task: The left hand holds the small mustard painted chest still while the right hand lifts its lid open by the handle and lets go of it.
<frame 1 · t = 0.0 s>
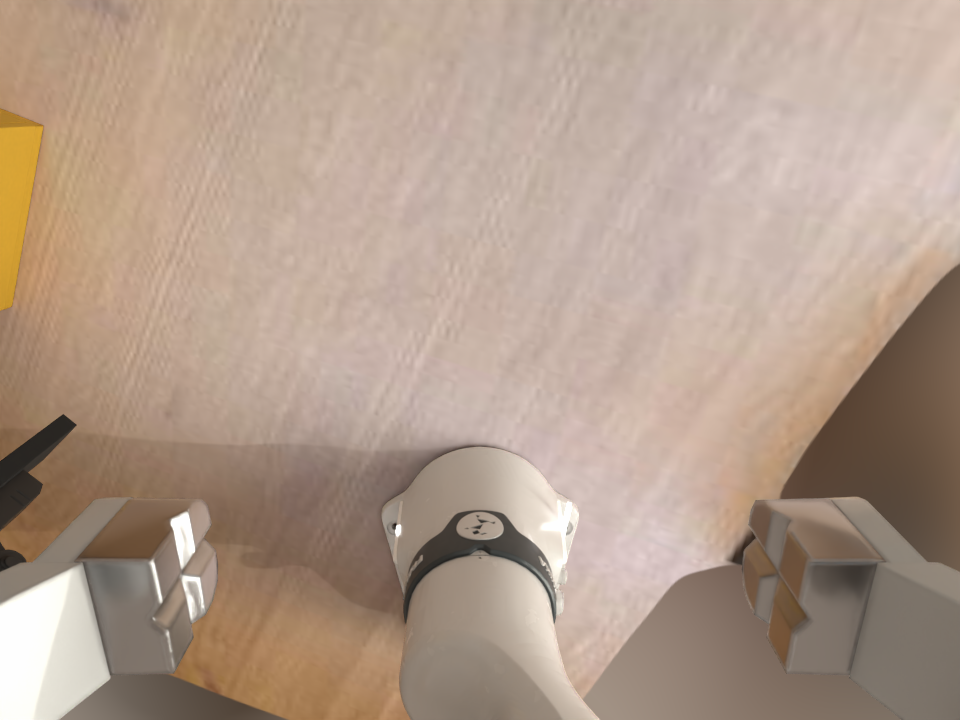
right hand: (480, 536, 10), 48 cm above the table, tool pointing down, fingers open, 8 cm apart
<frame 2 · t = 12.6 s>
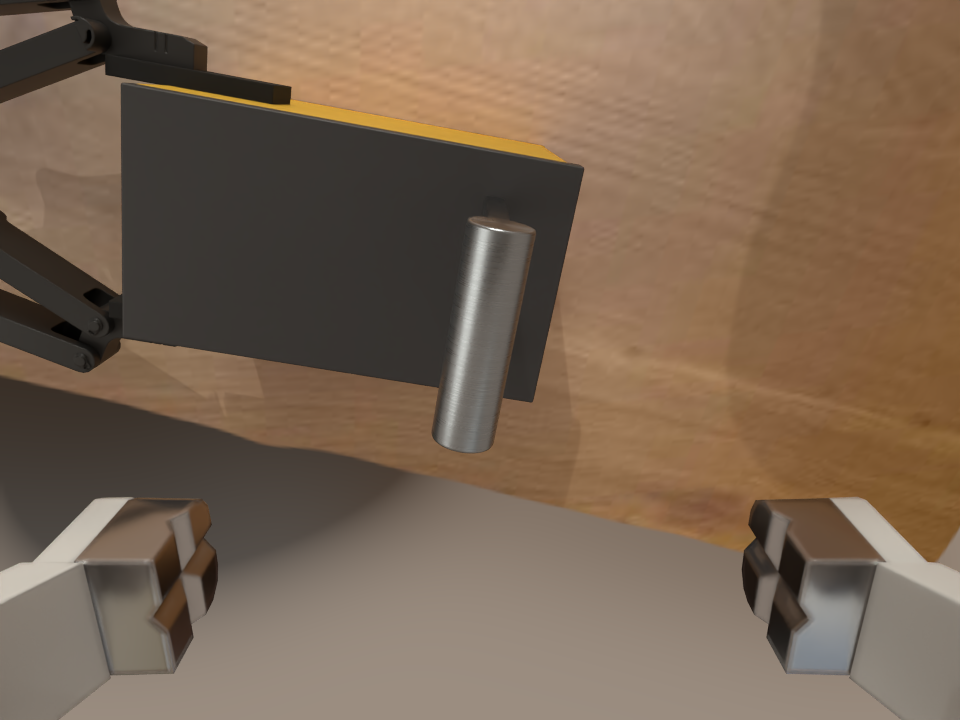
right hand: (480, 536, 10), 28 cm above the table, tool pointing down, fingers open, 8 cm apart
left hand: (273, 216, 30), fingers closed on chest, 9 cm apart
lid: (324, 278, 22), point 15 cm above the table, hinge at 0.0°
chest: (380, 209, 37), on the table, touching left hand
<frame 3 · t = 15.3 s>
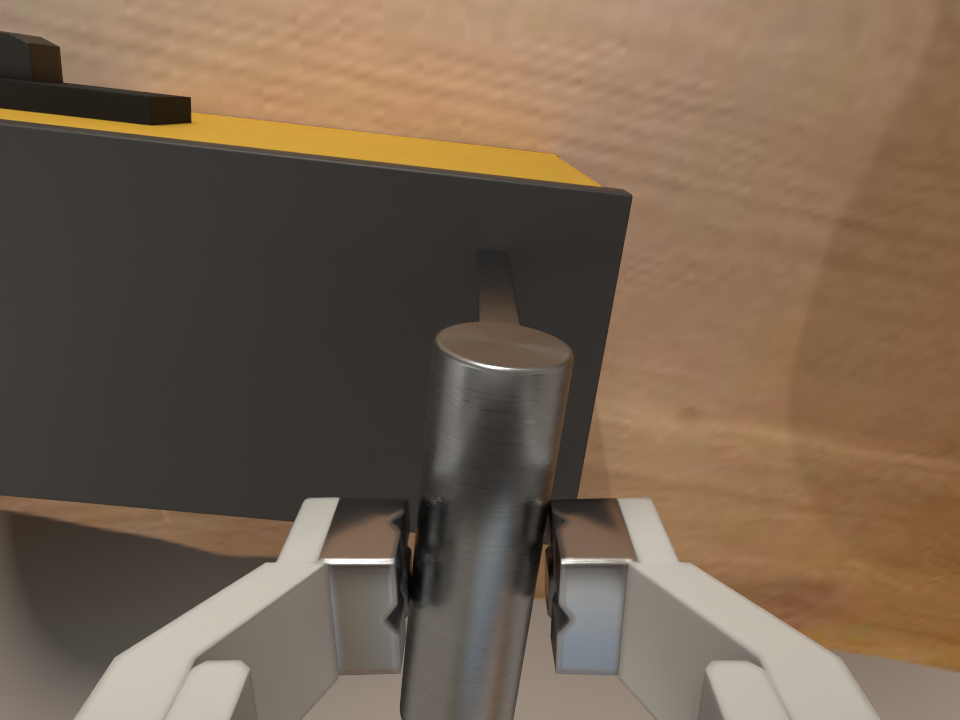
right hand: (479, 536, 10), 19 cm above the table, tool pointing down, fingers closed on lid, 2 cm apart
lid: (210, 415, 13), point 15 cm above the table, hinge at -0.1°, touching right hand
chest: (344, 252, 28), on the table, touching left hand
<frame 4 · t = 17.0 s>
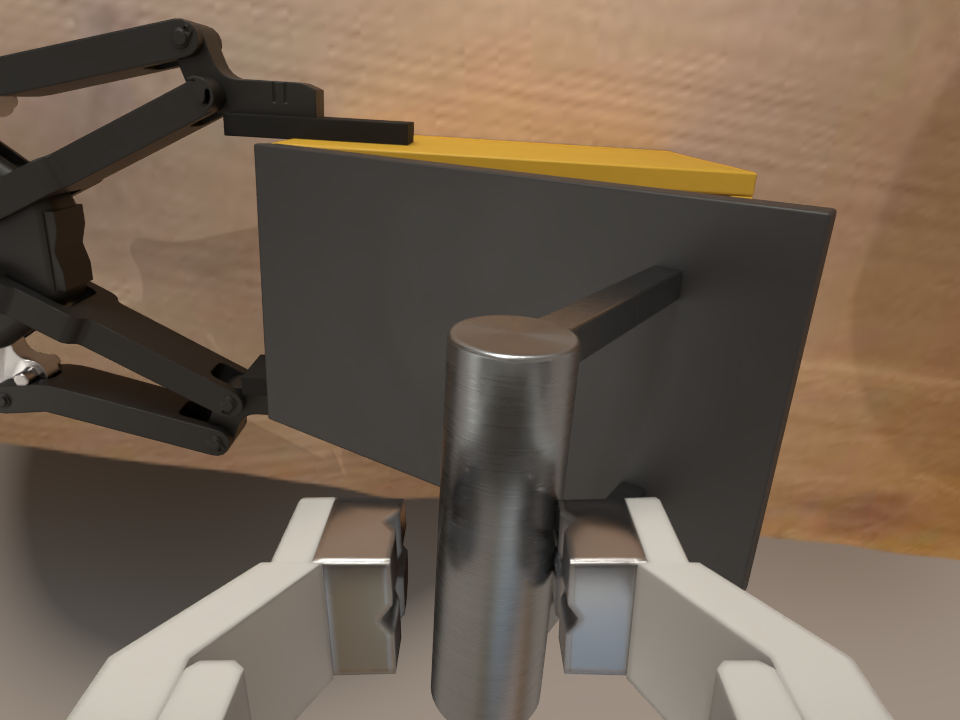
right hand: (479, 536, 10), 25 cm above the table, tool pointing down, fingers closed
left hand: (407, 265, 27), fingers closed on chest, 9 cm apart
lid: (384, 383, 16), point 19 cm above the table, hinge at 33.0°, touching right hand
chest: (496, 239, 34), on the table, touching left hand
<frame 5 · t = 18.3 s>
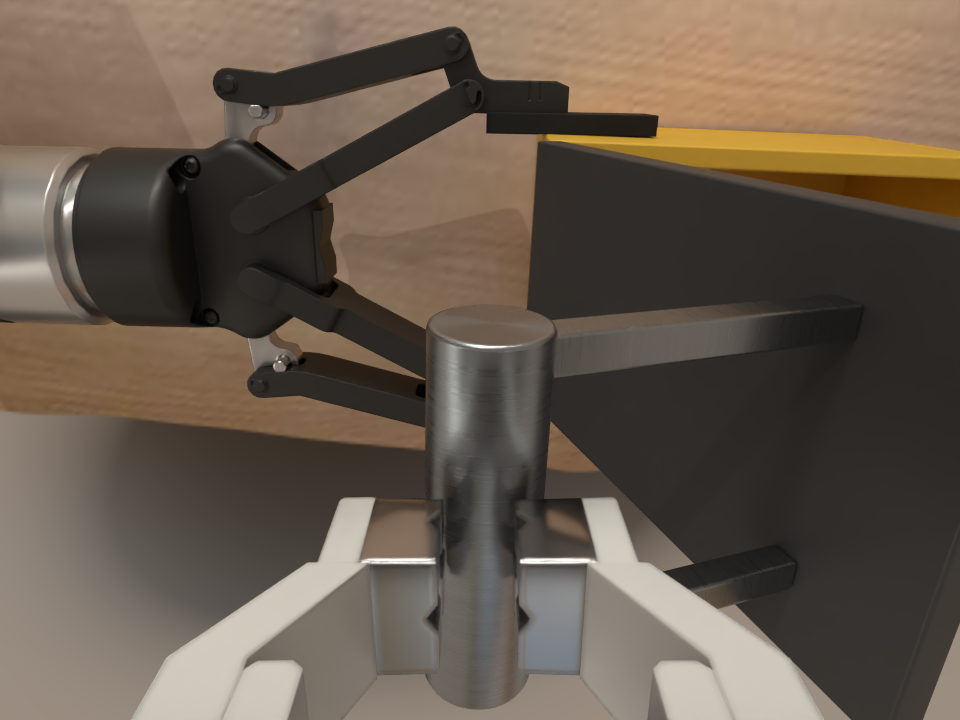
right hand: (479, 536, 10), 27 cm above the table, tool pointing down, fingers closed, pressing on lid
left hand: (637, 249, 29), fingers closed on chest, 9 cm apart
lid: (538, 370, 17), point 20 cm above the table, hinge at 66.6°, touching right hand
chest: (686, 224, 35), on the table, touching left hand
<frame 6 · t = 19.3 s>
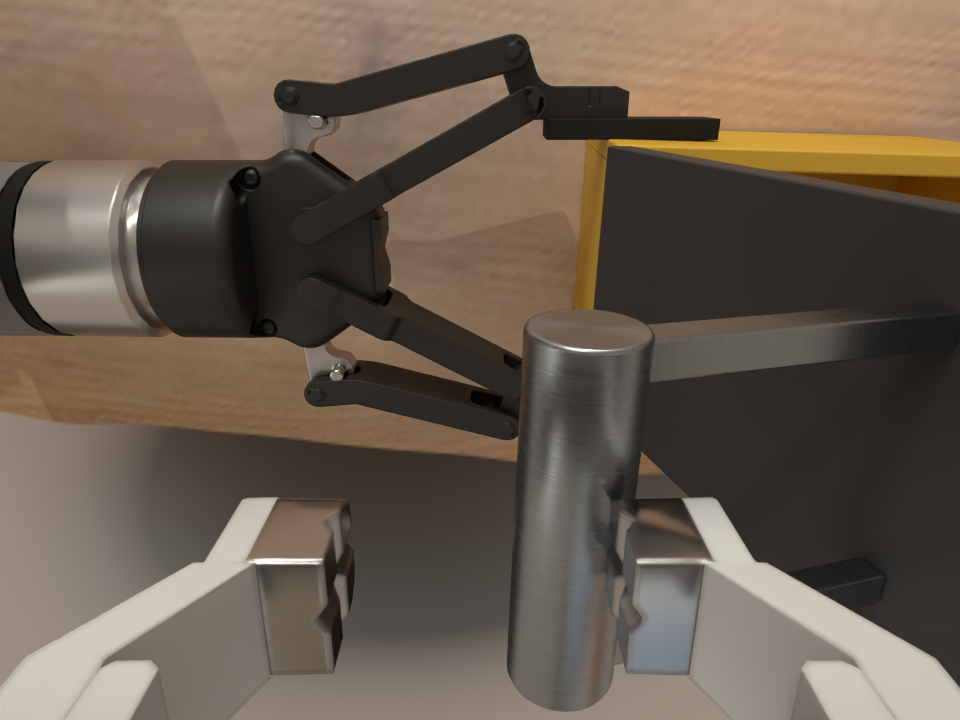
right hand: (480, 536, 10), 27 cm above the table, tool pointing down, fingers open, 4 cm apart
left hand: (694, 253, 29), fingers closed on chest, 9 cm apart
lid: (614, 375, 17), point 20 cm above the table, hinge at 69.9°, touching right hand
chest: (735, 227, 35), on the table, touching left hand
when the left hand's fingers open (7 cm above the table, at t = 22.8 s): chest stays where it is, on the table.
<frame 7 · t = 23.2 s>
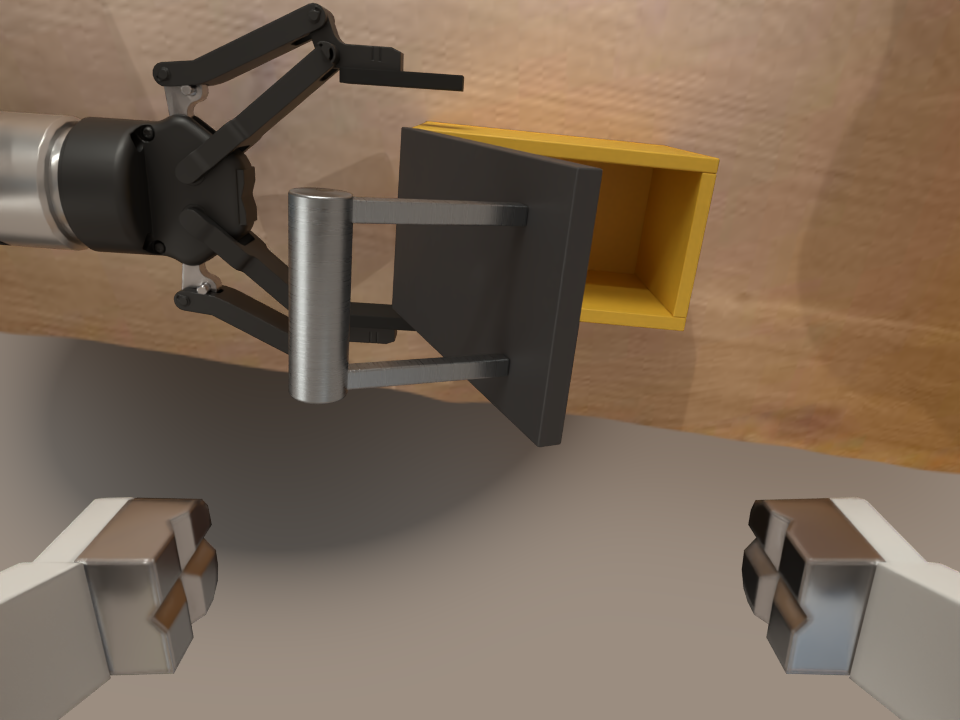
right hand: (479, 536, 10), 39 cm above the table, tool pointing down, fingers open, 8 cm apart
left hand: (457, 209, 40), fingers open, 13 cm apart
lid: (377, 258, 27), point 21 cm above the table, hinge at 65.4°
chest: (538, 205, 47), on the table
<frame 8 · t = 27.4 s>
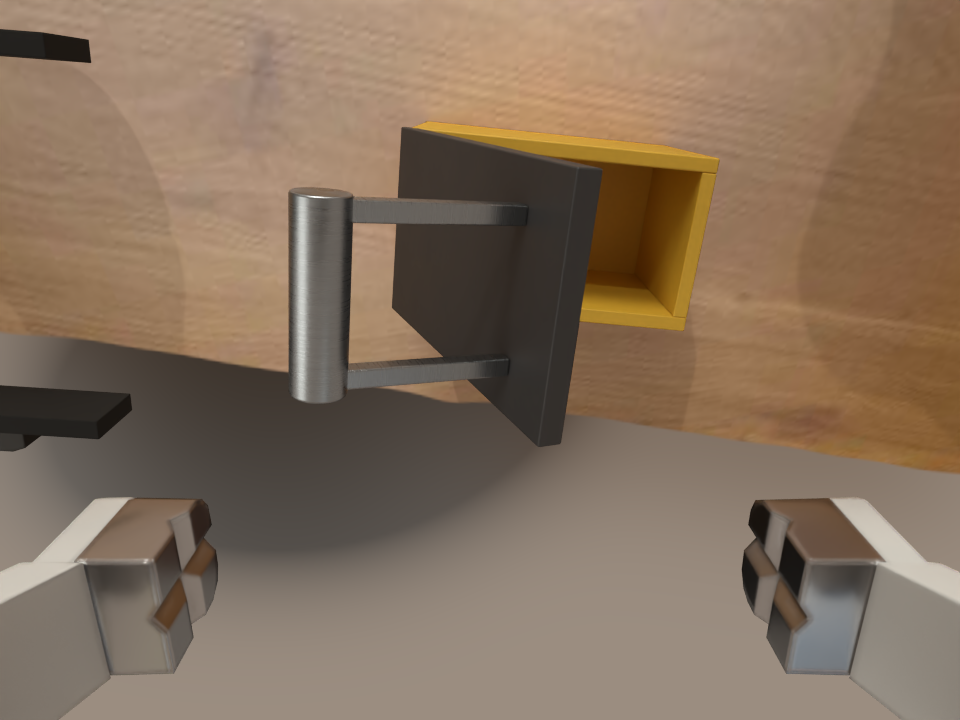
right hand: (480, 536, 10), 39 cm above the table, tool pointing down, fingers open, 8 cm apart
lid: (377, 258, 27), point 21 cm above the table, hinge at 65.4°
chest: (538, 205, 47), on the table
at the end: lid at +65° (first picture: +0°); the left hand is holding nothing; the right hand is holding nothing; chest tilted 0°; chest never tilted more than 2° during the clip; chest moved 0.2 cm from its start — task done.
